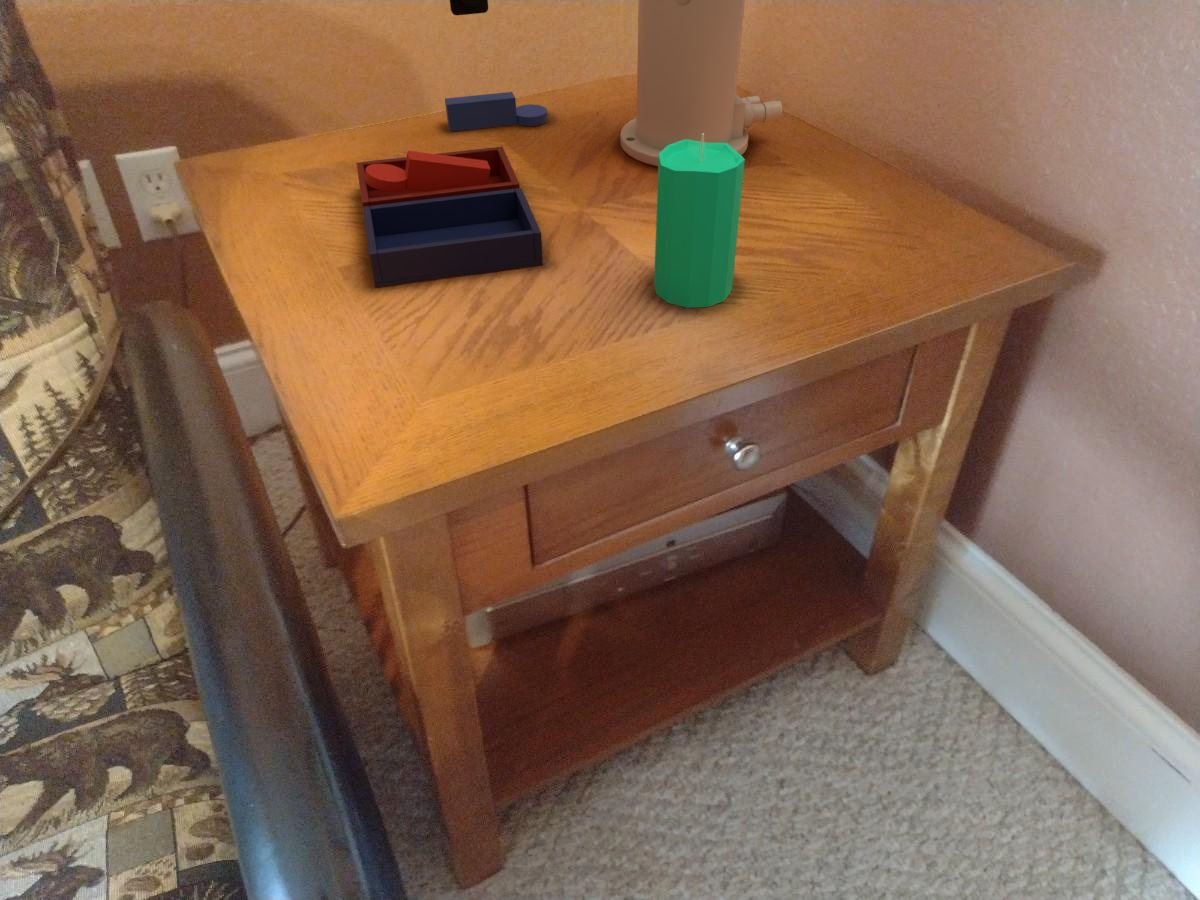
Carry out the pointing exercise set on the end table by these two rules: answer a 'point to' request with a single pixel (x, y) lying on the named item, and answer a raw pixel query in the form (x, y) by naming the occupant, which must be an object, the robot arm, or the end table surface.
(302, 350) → the end table surface
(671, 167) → the candle
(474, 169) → the red spoon
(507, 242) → the navy bin
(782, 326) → the end table surface
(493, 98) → the blue spoon
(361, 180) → the maroon bin
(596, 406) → the end table surface
